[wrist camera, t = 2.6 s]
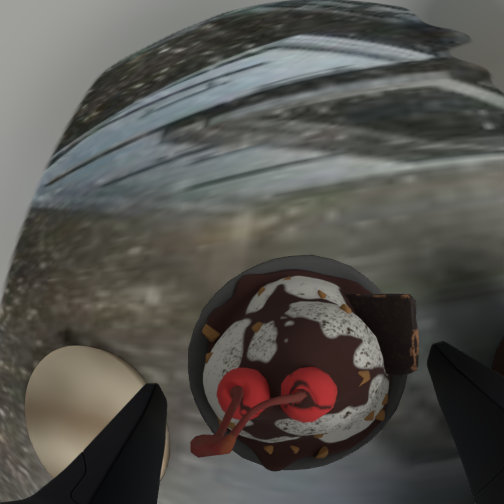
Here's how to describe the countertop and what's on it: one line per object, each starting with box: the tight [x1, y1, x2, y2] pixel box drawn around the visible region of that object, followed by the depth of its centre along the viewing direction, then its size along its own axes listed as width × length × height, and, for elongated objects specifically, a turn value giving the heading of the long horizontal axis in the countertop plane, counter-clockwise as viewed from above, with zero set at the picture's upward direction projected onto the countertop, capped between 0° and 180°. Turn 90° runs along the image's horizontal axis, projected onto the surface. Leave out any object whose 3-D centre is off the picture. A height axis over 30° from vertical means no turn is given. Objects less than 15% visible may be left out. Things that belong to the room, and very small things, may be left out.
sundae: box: [188, 255, 419, 471], centre depth 11 cm, size 7×7×15 cm
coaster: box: [25, 346, 170, 481], centre depth 17 cm, size 12×12×1 cm
